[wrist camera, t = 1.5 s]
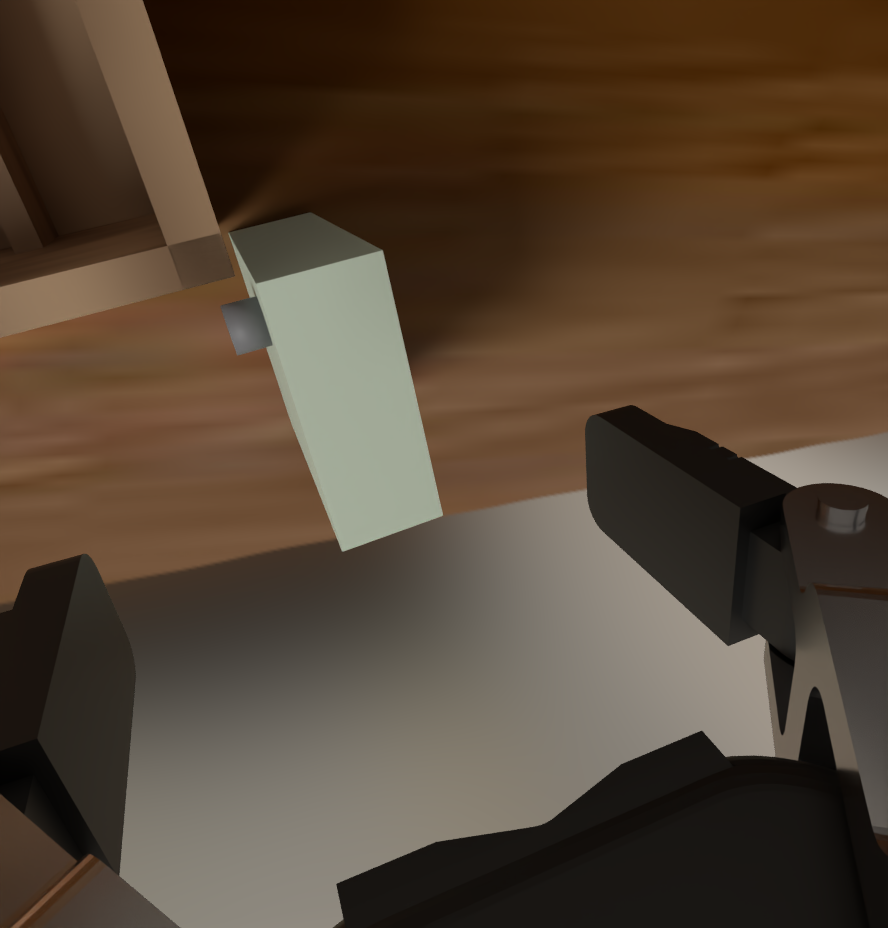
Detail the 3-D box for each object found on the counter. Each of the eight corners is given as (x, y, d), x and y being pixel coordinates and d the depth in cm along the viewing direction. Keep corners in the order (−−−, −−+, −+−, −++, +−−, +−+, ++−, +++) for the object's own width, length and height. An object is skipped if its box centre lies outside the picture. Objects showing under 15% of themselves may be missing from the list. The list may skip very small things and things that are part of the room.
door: (310, 212, 26) (382, 250, 17) (361, 399, 30) (443, 515, 21) (201, 238, 25) (214, 295, 16) (268, 428, 29) (309, 563, 20)
